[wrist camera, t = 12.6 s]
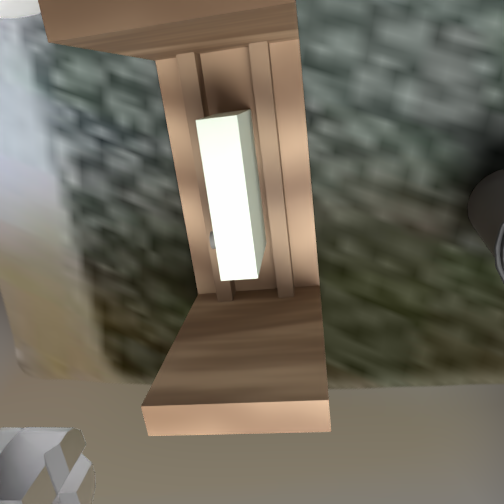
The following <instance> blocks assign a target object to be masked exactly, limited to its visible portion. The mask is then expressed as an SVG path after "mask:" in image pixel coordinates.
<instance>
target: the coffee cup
mask: <svg viewBox="0 0 504 504" xmlns="http://www.w3.org/2000/svg"><path fill="white" fill-rule="evenodd" d="M467 208H468V217H469V220H470V222H471V224H472V226H473V227H474V229H475V230H476V232H477V233H478V234H479V236H480V237H481V239H482V240H483V242H484V243H485V244H486V246H487V247H488V249H489V250H490V252H491V253H492V254H493V256H494V257H495V266H496V269H497V271H498V273H499V275H500V277H501V279H502V281H503V283H504V169H503V170H498V171H496V172H494V173H492V174H490V175H488V176H486V177H485V178H484V179H483V180H481V181H480V182H479V183H478V184H477V185H476V187H475V188H474V190H473V191H472V193H471V195H470V198H469V202H468V206H467Z"/></svg>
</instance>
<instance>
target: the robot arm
mask: <svg viewBox="0 0 504 504" xmlns="http://www.w3.org/2000/svg"><path fill="white" fill-rule="evenodd" d="M85 446H86V442H85V440H84V437H83V434H82V432H81V430H79V429H76V428H52V427H51V428H50V427H26V428H9V427H7V428H6V427H3V428H0V504H92V501H93V496H94V491H95V486H96V483H95V471H94V468H93V464H92V462H91V461H89V460H88V459H87V458H86V457H85V456H84V455H83V454H81V453H82V451H83V449H84V447H85Z"/></svg>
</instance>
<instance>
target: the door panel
mask: <svg viewBox="0 0 504 504" xmlns="http://www.w3.org/2000/svg"><path fill="white" fill-rule="evenodd" d="M196 127H197V133H198V139H199V145H200V152H201V158H202V164H203V171H204V177H205V183H206V190H207V196H208V202H209V208H210V215H211V221H212V227H213V231H211V232H210V236H209V239H210V246H211V248H212V249H216V253H217V259H218V265H219V271H220V278H221V281H227V280H242V279H256V278H258V276H259V272H260V268H261V263H262V259H263V255H264V251H265V247H266V243H267V242H266V234H265V225H264V217H263V208H262V200H261V191H260V183H259V174H258V166H257V158H256V149H255V141H254V132H253V124H252V115H251V109H248V110H240V111H232V112H224V113H217V114H214V115H211V116H207V117H204V118H201V119H198V120H196Z"/></svg>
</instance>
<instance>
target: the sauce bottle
mask: <svg viewBox="0 0 504 504" xmlns="http://www.w3.org/2000/svg"><path fill="white" fill-rule="evenodd" d="M39 13H41V11H40V7H39V3H38V0H0V18H12V19H15V18H24V17H29V16H34V15H37V14H39Z"/></svg>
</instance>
